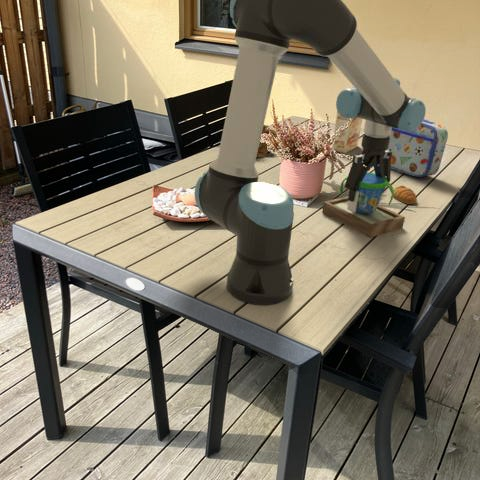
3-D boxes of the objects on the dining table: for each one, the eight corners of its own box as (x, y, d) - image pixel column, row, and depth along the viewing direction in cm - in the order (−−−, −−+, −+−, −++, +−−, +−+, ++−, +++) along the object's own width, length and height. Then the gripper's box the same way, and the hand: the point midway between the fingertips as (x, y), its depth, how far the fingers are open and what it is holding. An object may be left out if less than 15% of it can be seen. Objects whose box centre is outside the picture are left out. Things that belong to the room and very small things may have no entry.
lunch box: (368, 162, 205) (378, 108, 196) (385, 159, 211) (395, 106, 201) (423, 183, 186) (437, 124, 176) (440, 179, 191) (455, 121, 181)
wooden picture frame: (369, 237, 141) (372, 226, 139) (322, 212, 155) (323, 201, 154) (402, 227, 148) (404, 217, 146) (354, 204, 163) (355, 194, 161)
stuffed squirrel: (239, 152, 207) (241, 121, 201) (263, 147, 216) (265, 117, 210) (256, 159, 201) (258, 126, 195) (280, 153, 210) (283, 122, 204)
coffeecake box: (345, 153, 215) (353, 107, 206) (330, 150, 218) (337, 105, 209) (358, 146, 226) (365, 102, 218) (343, 143, 230) (350, 100, 221)
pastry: (421, 205, 166) (423, 194, 164) (403, 206, 165) (405, 195, 163) (406, 194, 174) (408, 184, 172) (389, 195, 173) (391, 185, 171)
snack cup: (393, 210, 151) (400, 178, 146) (384, 221, 143) (390, 188, 138) (344, 198, 158) (349, 167, 153) (332, 208, 149) (337, 176, 145)
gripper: (358, 142, 131) (345, 219, 141) (413, 133, 143) (397, 205, 153) (338, 135, 137) (327, 209, 147) (392, 127, 148) (379, 197, 158)
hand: (363, 207), depth 150 cm, fingers open, 10 cm apart
